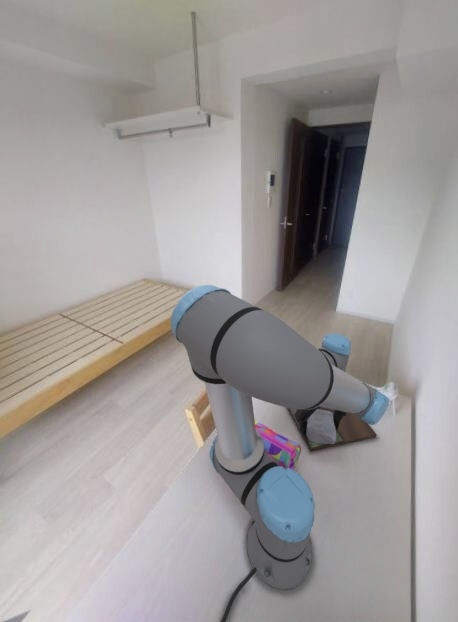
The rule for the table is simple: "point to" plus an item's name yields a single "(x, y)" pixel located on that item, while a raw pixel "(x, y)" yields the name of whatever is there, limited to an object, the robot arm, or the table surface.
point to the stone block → (321, 427)
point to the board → (341, 431)
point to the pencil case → (279, 447)
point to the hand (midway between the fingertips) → (318, 428)
